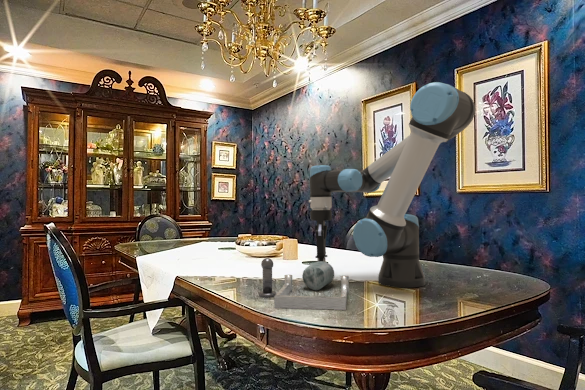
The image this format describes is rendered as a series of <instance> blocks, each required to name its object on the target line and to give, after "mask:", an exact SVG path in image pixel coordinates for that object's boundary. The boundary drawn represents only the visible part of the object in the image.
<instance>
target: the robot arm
mask: <svg viewBox="0 0 585 390" xmlns="http://www.w3.org/2000/svg"><path fill="white" fill-rule="evenodd" d="M409 107H410V108H409V110H410V114H411V119H410V120H409V123H408V126H409V130H410V132H409V133H410V134H409V135H408V136H406V137H405V138H404V139H402V140H401V141H399V143H397V144H396V145H395V146H393V147H392V148H390V149H389V150H388V151H386V152H385V153H384V154H383V155H381V156H380V157H378V158H377V159H376V160H374V161H373V162H372V163H371V164H369V165H368V166H366V167H365V168H364V169H361V170H358V169H357V168H356V169H355V168H343V169H337V170H336V169H335V170H332V167H331V166H330V165H328V164H326V165H325V164H324V165H323V164H322V165H312V166H311V167H310V170H309V191H310V192H309V193H310V195H309V197H310V199H309V200H308V203H309V204H310V209H311V210H310V212H309V217H310V219H309V220H310V221H314V222H315V221H316V225H315V227H314V230H315V239H316V255H315V259H317V262H319V261H324V262H327V261H326V260H327V259H326V258H328V254H327V252H326V250H327V248H326V245H327V244H326V242H327V240H326V239H327V230H328V225H326V221H327V222H328V221H332V210H331V209H332V206H333V204H332V201H333V200H332V193H366V194H367V193H368V194H369V193H374V192H375V193H376V192H377V191H379V188H380V187H381V184H382V183H383V182H384V181H386V180H388V181H387V184H386V186H385V188H384V189H383V192H382V195H381V197H379V198H380V199H379V200H378V203H377V204H376V205H374V206H371V207H370V208H369V211H368V212H367V215H366V217H364V218H363V219H360V220H359V221H358V222H356V224H355V225H354V227H353V231H352V237H353V239H352V240H353V241H354V245H355V247H356V248H357V249H358V251H359V252H360V253H361V254H362V255H364V256H366V257H369V258H370V257H371V258H374V257H375V258H380V257H383V258H382V259H383V260H382V263H381V267H380V270H379V272H378V273H379V274H378V276H377V277H378V278H377V279H378V280H377V281H378V284H380V285H383V286H387V287H391V288H392V287H393V288H408V289H409V288H419V287H424V286H425V285H426V276H425V274H424V271H423V268H422V264H421V261H420V225H419V218H418V217H417V216H416V215H414V214H408V213H407V211H408V209H409V207H410V205H411V203H412V201H413V199H414V197H415V195H416V193H417V192H418V191H417V190H418V189H419V187H420V185H421V182H422V181H423V178H424V177H425V174H426V173H427V170H428V168H429V167H430V164H431V163H432V160H433V158H434V156H435V154H436V152H437V150H438V149H439V146H440V145H441V144H442V143H447V142H448V141H450V140H452V139H453V138H454V137H455V136H457V135H459V134H460V133H461V132H463V131H464V130H465V129H466V128H467V127H469V125H471V123H472V121H473V120H474V117H475V114H476V105H475V102H474V100H473V98H472V97H471V96H470V95H469V94H467V93H466V92H464V91H463V90H462V91H461V90H460V89H459V88H456V87H454V86H453V85H451V84H449V83H444V82H439V81H436V82H435V81H434V82H430V83H427V84H425V85H423V86H421V87H420V88H419V89H418V90H417V91H416V92H415V93H414V94H413V97H412V99H411V101H410V106H409Z"/></svg>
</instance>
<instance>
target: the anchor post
mask: <svg viewBox="0 0 585 390" xmlns="http://www.w3.org/2000/svg"><path fill="white" fill-rule="evenodd" d="M260 264H261V265H260V266H261V268H262V290H261V291H259V292H258V296H259V297H261V298H274V296H275V295H276V294H277V292H276V291H275V290H273V267H274V260H273V259H271V258H269V257H265V258H263V259H262V261H261V263H260Z"/></svg>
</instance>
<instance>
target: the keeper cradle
mask: <svg viewBox="0 0 585 390" xmlns="http://www.w3.org/2000/svg"><path fill="white" fill-rule="evenodd" d="M349 282H350V277H349V275H341V276H340V294H341V295H340V296H317V295H289V294H291V293H293V289H294V288H293V275H292V274H285V275H284V284H283V285H282V287H281V288H280V289H279V290H278V291H277V292H276V295H275V296H274V297H273V298H274V299H273V301H274V305H273V307H274V308H275V309H294V310H296V309H298V310H299V309H301V310H328V309H334V310H335V311H337V310H339V311H346V310H347V300H348V299H347V297H348V294H350V283H349Z"/></svg>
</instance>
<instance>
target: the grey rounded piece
mask: <svg viewBox="0 0 585 390" xmlns="http://www.w3.org/2000/svg"><path fill="white" fill-rule="evenodd" d="M301 276H302V282H303V283H304V285H305V286H306V287H307V288H309V289H310V290H312V291H319V290H321V289H323V288H324V287H325V286H327V285H329V284H331V283H332V282H333V281H334V278H335V270H334V267H333V266H332V265H331V264H330V263H328V262H327V261H326V262H324V261H319V262H318V261H316V262H313V263H311V264H309V265H308V266H307V267H305V268H304V270H303V271H302V274H301Z"/></svg>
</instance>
